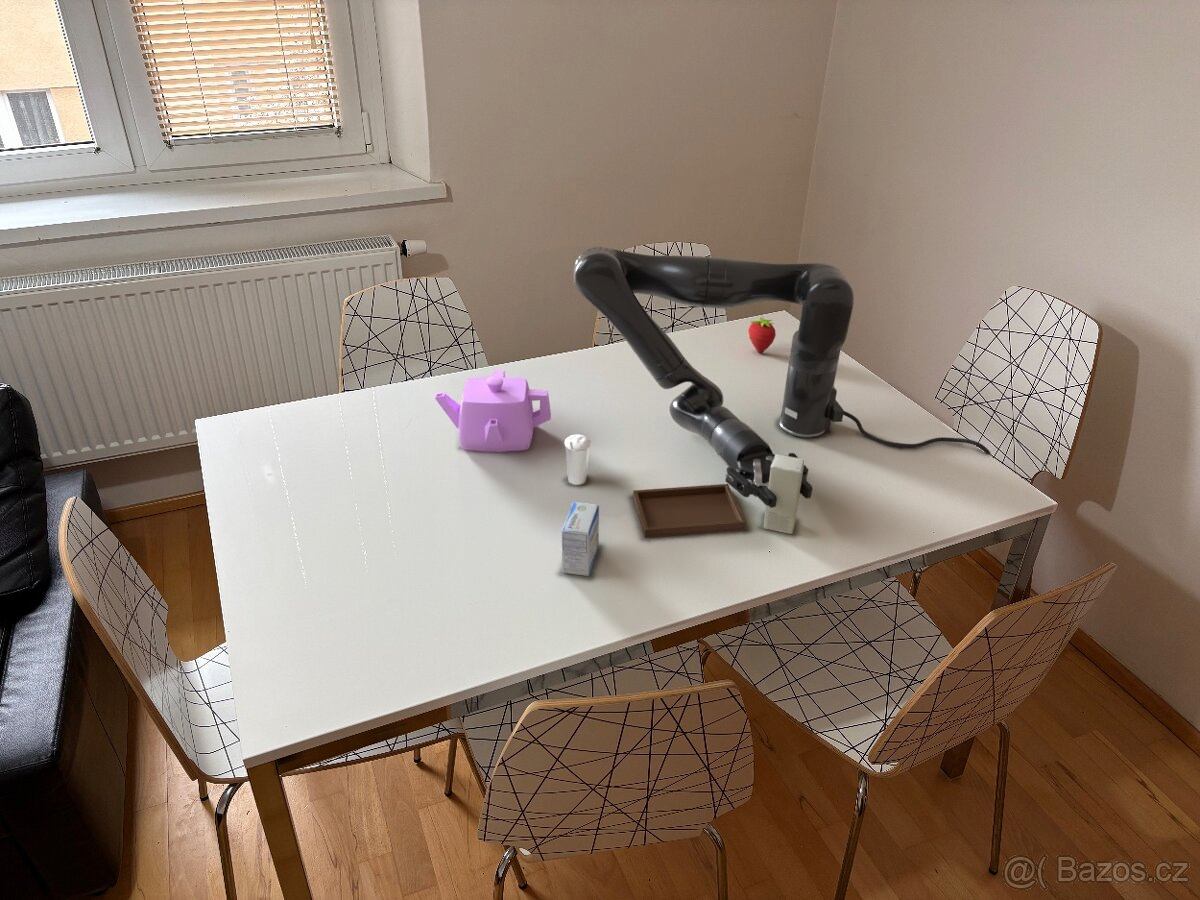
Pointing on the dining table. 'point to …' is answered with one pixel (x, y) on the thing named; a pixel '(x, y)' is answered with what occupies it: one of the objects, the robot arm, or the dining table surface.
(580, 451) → the milkshake
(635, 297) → the robot arm
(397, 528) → the dining table surface
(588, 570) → the medicine box
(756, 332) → the strawberry
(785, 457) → the box
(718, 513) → the tray
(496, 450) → the teakettle
